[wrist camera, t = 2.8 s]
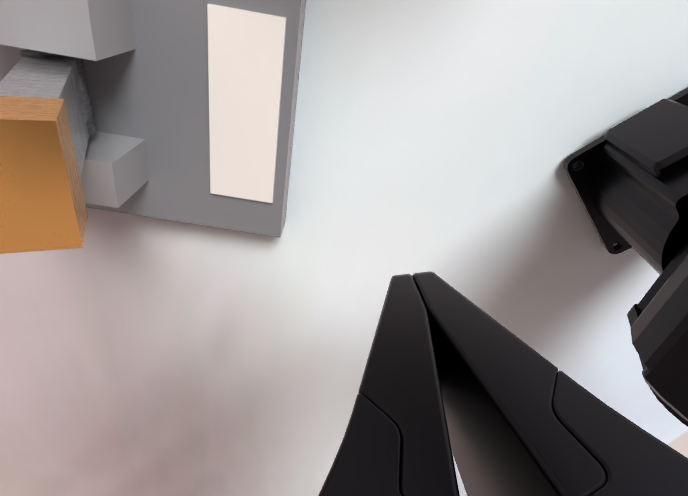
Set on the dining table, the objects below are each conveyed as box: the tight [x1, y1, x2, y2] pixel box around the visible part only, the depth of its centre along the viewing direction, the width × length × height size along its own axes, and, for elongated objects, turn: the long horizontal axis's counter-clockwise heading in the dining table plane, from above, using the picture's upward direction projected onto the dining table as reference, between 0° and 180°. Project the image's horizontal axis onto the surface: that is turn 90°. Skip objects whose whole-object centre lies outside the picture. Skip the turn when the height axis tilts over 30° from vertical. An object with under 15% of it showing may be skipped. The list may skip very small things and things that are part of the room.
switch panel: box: [0, 0, 306, 237], centre depth 17 cm, size 18×12×4 cm, turn 81°
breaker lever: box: [0, 49, 95, 254], centre depth 14 cm, size 2×4×10 cm, turn 171°
